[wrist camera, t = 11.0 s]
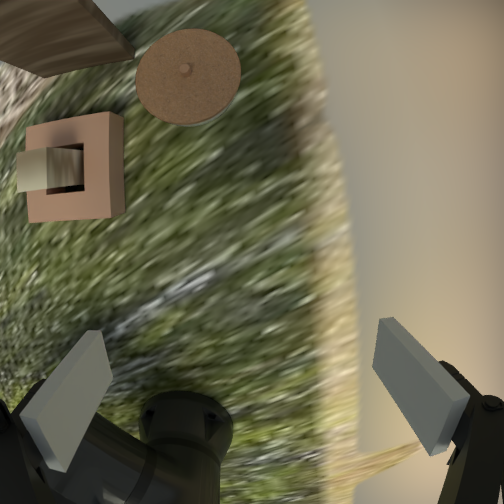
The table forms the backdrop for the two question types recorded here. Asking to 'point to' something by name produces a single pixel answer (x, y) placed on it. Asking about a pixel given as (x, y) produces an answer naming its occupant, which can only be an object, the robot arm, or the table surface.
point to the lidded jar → (188, 77)
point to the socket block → (95, 168)
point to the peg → (49, 168)
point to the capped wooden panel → (58, 36)
